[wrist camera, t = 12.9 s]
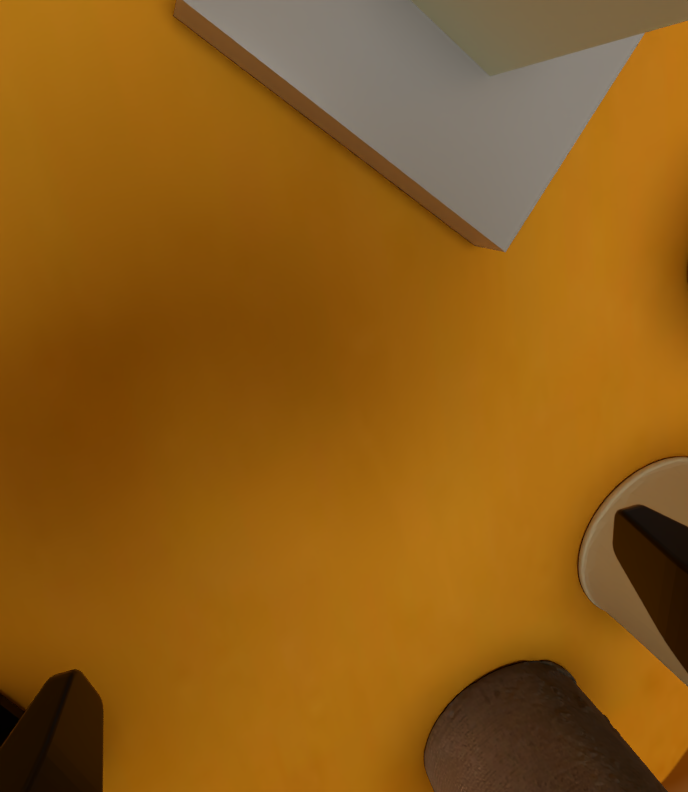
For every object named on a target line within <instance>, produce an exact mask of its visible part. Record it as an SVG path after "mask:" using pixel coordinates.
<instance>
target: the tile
mask: <svg viewBox="0 0 688 792" xmlns="http://www.w3.org/2000/svg"><path fill="white" fill-rule="evenodd" d="M173 16H174V17H176V18H177V19H178V20H180V21H181V22H182V23H184V24H185V25H186V26H187V27H189V28H190V29H191V30H193V31H194V32H195V33H197V34H198V35H199V36H201V37H202V38H203V39H205V40H206V41H207V42H208V43H210V44H211V45H212V46H214V47H215V48H216V49H218V50H219V51H220V52H222V53H223V54H224V55H225V56H227V57H228V58H229V59H231V60H232V61H233V62H235V63H236V64H237V65H239V66H240V67H241V68H243V69H244V70H245V71H246V72H248V73H249V74H250V75H252V76H253V77H254V78H256V79H257V80H258V81H260V82H261V83H262V84H264V85H265V86H266V87H267V88H269V89H270V90H271V91H273V92H274V93H275V94H277V95H278V96H279V97H281V98H282V99H283V100H285V101H286V102H287V103H288V104H290V105H291V106H292V107H294V108H295V109H296V110H298V111H299V112H300V113H302V114H303V115H304V116H306V117H307V118H308V119H309V120H311V121H312V122H313V123H315V124H316V125H317V126H319V127H320V128H321V129H323V130H324V131H325V132H327V133H328V134H329V135H330V136H332V137H333V138H334V139H336V140H337V141H338V142H340V143H341V144H342V145H344V146H345V147H346V148H347V149H349V150H350V151H351V152H353V153H354V154H355V155H357V156H358V157H359V158H361V159H362V160H363V161H365V162H366V163H367V164H368V165H370V166H371V167H372V168H374V169H375V170H376V171H378V172H379V173H380V174H382V175H383V176H384V177H386V178H387V179H388V180H389V181H391V182H392V183H393V184H395V185H396V186H397V187H399V188H400V189H401V190H403V191H404V192H405V193H407V194H408V195H409V196H410V197H412V198H413V199H414V200H416V201H417V202H418V203H420V204H421V205H422V206H424V207H425V208H426V209H428V210H429V211H430V212H431V213H433V214H434V215H435V216H437V217H438V218H439V219H441V220H442V221H443V222H445V223H446V224H447V225H449V226H450V227H451V228H452V229H454V230H455V231H456V232H458V233H459V234H460V235H462V236H463V237H464V238H466V239H467V240H468V241H470V242H471V243H472V244H473V245H475V246H479V247H483V248H488V249H493V250H498V251H502V252H506V250H507V249H508V247H509V246H510V244H511V242H512V241H513V239H514V238H515V236H516V235H517V233H518V231H519V230H520V228H521V227H522V225H523V224H524V222H525V220H526V219H527V217H528V216H529V214H530V213H531V211H532V209H533V208H534V206H535V205H536V203H537V202H538V200H539V198H540V197H541V195H542V194H543V192H544V191H545V189H546V187H547V186H548V184H549V183H550V181H551V180H552V178H553V176H554V175H555V173H556V172H557V170H558V169H559V167H560V165H561V164H562V162H563V161H564V159H565V158H566V156H567V154H568V153H569V151H570V150H571V148H572V147H573V145H574V143H575V142H576V140H577V139H578V137H579V136H580V134H581V132H582V131H583V129H584V128H585V126H586V125H587V123H588V121H589V120H590V118H591V117H592V115H593V114H594V112H595V110H596V109H597V107H598V106H599V104H600V103H601V101H602V99H603V98H604V96H605V95H606V93H607V92H608V90H609V88H610V87H611V85H612V84H613V82H614V81H615V79H616V77H617V76H618V74H619V73H620V71H621V70H622V68H623V66H624V65H625V63H626V62H627V60H628V59H629V57H630V55H631V54H632V52H633V51H634V49H635V48H636V46H637V44H638V43H639V41H640V40H641V38H642V36H643V35H644V33H642V34H638V35H634V36H631V37H627V38H624V39H620V40H617V41H613V42H610V43H606V44H603V45H599V46H596V47H592V48H589V49H585V50H581V51H578V52H574V53H571V54H567V55H564V56H560V57H557V58H553V59H550V60H546V61H543V62H539V63H535V64H532V65H528V66H525V67H521V68H518V69H514V70H511V71H507V72H504V73H500V74H497V75H493V76H489V75H488V74H487V73H486V72H485V71H484V70H483V69H482V68H481V67H480V66H479V65H478V64H477V63H476V62H475V61H474V60H473V59H472V58H471V57H469V56H468V55H467V54H466V53H465V52H464V51H463V50H462V49H461V48H460V47H459V46H458V45H457V44H456V43H455V42H454V41H453V40H452V39H451V38H450V37H449V36H448V35H446V34H445V33H444V32H443V31H442V30H441V29H440V28H439V27H438V26H437V25H436V24H435V23H434V22H433V21H432V20H431V19H430V18H429V17H428V16H427V15H426V14H425V13H424V12H422V11H421V10H420V9H419V8H418V7H417V6H416V5H415V4H414V3H413V2H412V1H411V0H176V5H175V10H174V15H173Z"/></svg>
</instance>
